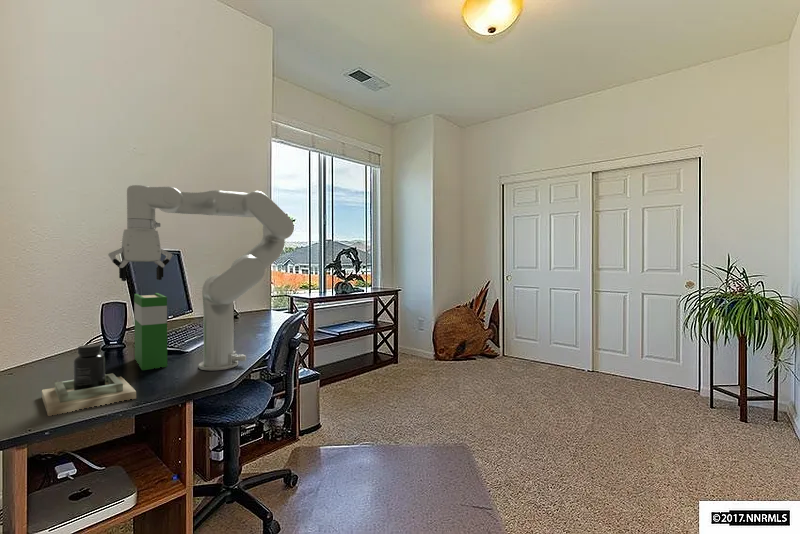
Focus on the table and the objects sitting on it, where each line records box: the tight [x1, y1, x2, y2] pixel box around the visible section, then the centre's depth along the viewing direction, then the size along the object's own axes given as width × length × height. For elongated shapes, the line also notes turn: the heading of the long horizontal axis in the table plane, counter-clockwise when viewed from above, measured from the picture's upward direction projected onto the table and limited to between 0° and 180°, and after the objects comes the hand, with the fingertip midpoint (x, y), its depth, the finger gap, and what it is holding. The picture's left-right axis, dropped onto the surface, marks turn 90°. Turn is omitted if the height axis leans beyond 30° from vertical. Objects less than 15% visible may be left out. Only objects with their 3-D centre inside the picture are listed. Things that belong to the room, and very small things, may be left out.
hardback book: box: [133, 292, 168, 371], centre depth 146 cm, size 18×7×24 cm, turn 39°
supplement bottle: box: [72, 343, 106, 391], centre depth 111 cm, size 7×7×12 cm
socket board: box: [41, 372, 137, 417], centre depth 111 cm, size 18×18×4 cm
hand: (141, 280), depth 130 cm, fingers open, 9 cm apart
